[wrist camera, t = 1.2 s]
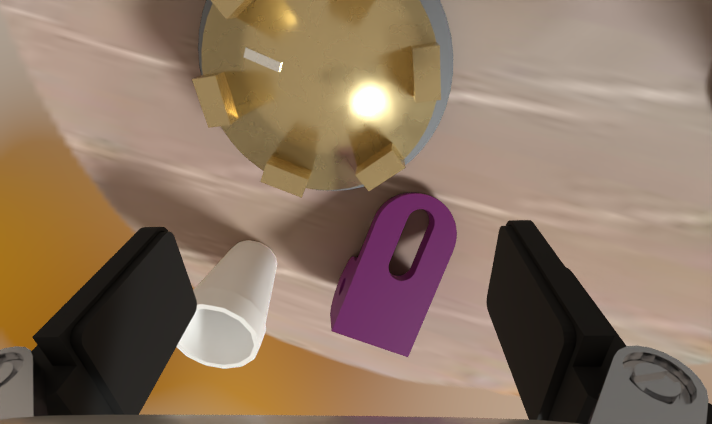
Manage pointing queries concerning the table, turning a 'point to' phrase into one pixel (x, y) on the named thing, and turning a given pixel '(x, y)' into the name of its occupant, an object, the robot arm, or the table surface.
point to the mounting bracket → (393, 277)
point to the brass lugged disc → (320, 87)
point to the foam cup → (232, 308)
